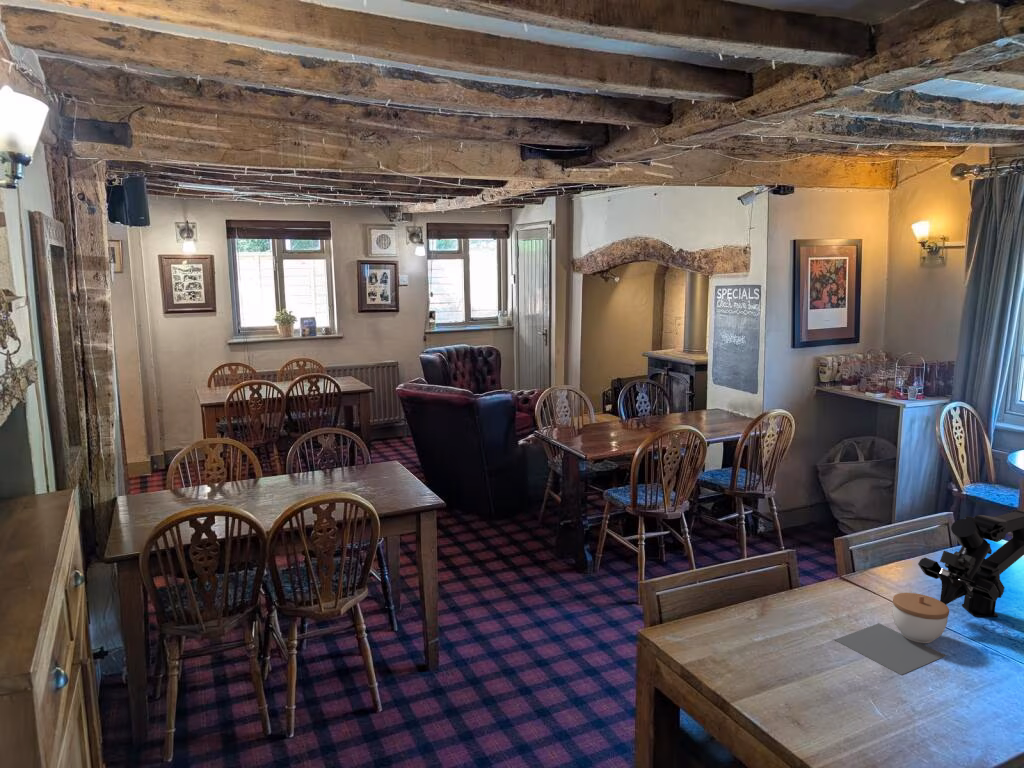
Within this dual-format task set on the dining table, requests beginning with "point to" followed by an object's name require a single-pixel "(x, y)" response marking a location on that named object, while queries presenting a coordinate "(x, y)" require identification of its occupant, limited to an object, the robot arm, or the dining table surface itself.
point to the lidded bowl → (919, 616)
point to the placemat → (890, 648)
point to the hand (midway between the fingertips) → (941, 604)
